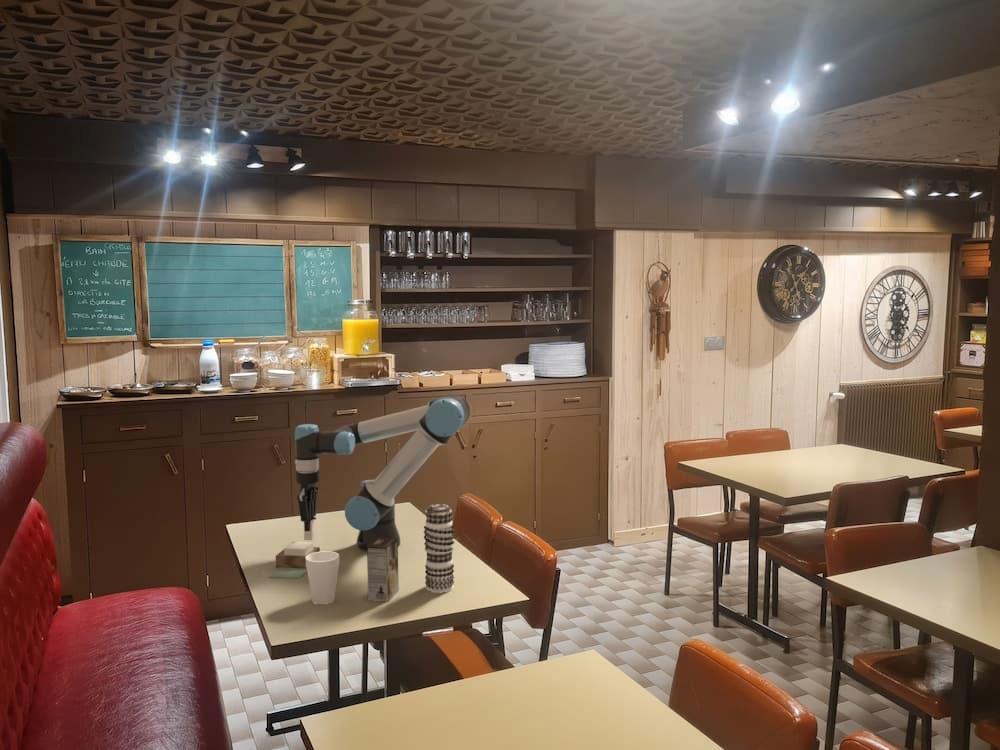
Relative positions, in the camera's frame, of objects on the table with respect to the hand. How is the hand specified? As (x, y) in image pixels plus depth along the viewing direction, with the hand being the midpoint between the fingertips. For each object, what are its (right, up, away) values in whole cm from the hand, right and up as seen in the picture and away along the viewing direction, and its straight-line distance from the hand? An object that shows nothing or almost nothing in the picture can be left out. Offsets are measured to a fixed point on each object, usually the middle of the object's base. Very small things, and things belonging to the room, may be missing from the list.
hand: (309, 539), depth 259 cm
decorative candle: (+47, -8, -29) cm, 56 cm away
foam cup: (+14, -9, -39) cm, 42 cm away
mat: (-2, -7, -17) cm, 19 cm away
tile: (-1, -2, -9) cm, 9 cm away
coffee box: (+31, -9, -35) cm, 47 cm away
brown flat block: (-1, -6, -8) cm, 10 cm away
